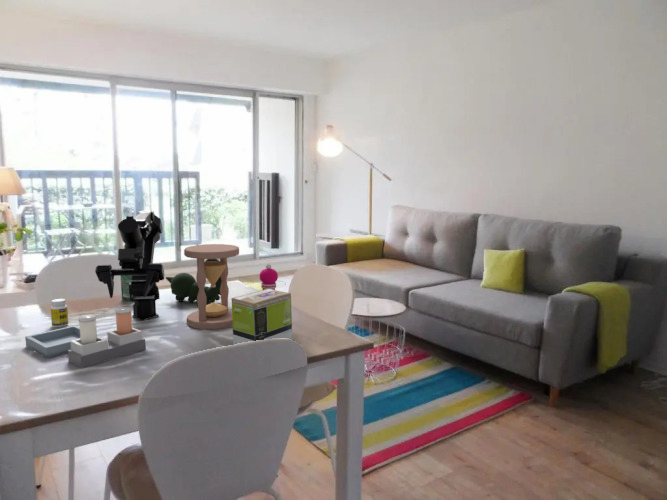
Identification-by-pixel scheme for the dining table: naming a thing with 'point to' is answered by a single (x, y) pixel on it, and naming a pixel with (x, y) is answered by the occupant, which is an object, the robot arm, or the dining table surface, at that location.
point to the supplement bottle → (59, 313)
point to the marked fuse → (123, 320)
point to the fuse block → (106, 348)
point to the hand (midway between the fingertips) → (127, 296)
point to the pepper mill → (268, 278)
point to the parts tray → (53, 341)
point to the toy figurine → (192, 287)
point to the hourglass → (212, 270)
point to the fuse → (87, 329)
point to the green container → (125, 288)
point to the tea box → (261, 316)
